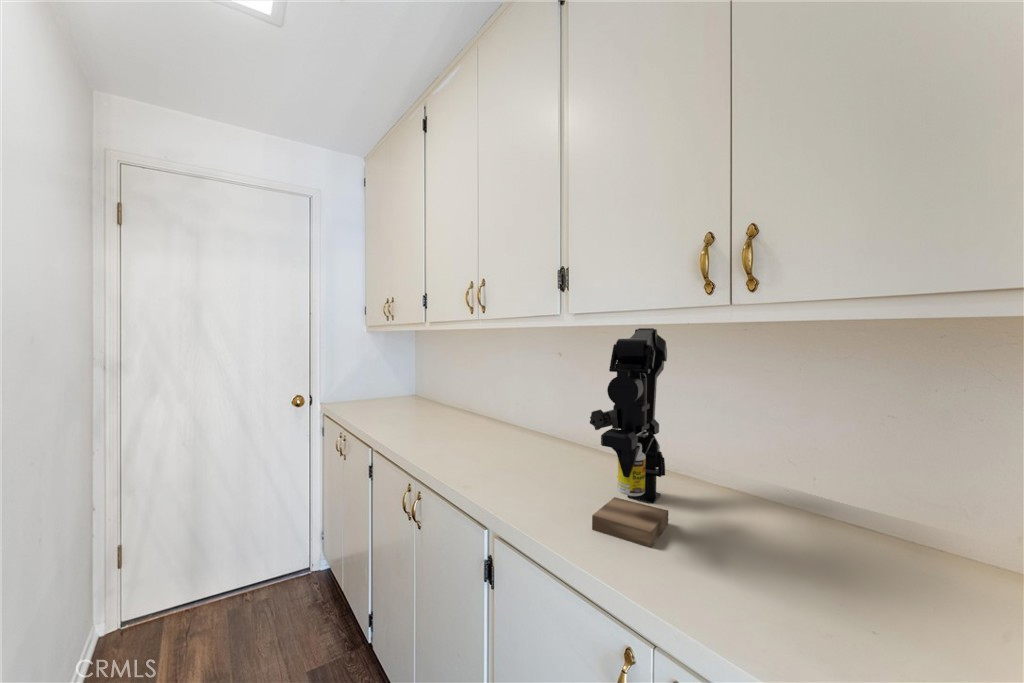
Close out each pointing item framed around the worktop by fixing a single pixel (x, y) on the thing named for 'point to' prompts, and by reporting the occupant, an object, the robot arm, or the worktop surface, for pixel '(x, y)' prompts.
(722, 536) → the worktop surface
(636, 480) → the supplement bottle
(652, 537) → the walnut plinth
